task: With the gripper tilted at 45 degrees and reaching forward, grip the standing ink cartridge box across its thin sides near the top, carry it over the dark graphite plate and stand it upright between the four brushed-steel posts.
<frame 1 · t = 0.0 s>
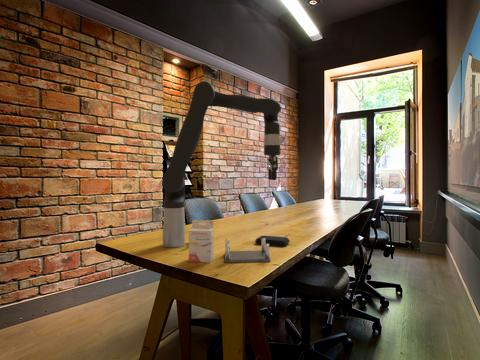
hand: (272, 180, 130), 29 cm above the table, tool pointing down, fingers open, 8 cm apart
carrying case or bag: (272, 244, 130), on the table
ink cartridge box: (201, 260, 104), on the table
standoff plate: (246, 257, 107), on the table
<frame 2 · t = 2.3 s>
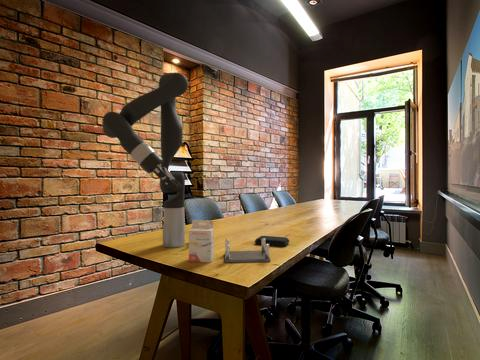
hand: (178, 189, 104), 27 cm above the table, tool tilted 45°, fingers open, 8 cm apart
nothing on the table moved.
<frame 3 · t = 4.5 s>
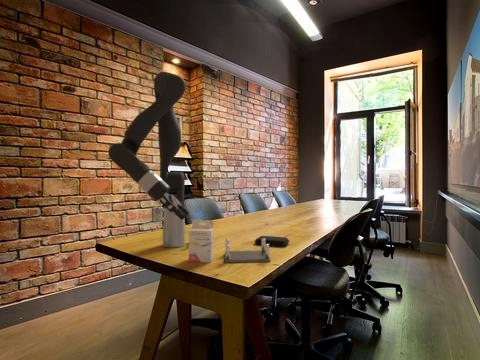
hand: (185, 216, 104), 16 cm above the table, tool tilted 45°, fingers open, 8 cm apart
nothing on the table moved.
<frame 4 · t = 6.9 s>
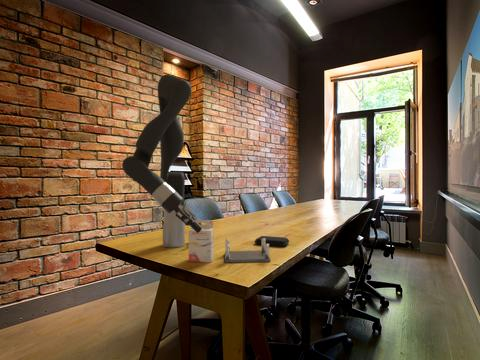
hand: (200, 229, 104), 12 cm above the table, tool tilted 45°, fingers closed on ink cartridge box, 5 cm apart
ink cartridge box: (201, 260, 104), on the table, touching gripper
everything else where it was.
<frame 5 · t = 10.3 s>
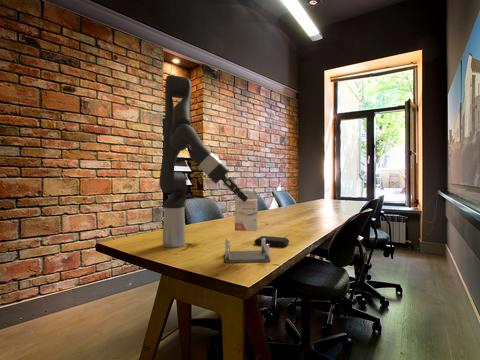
hand: (245, 199, 107), 22 cm above the table, tool tilted 45°, fingers closed on ink cartridge box, 5 cm apart
ink cartridge box: (246, 230, 107), point 10 cm above the table, touching gripper
when the fingers open (14 cm above the table, at t = 12.9 s): ink cartridge box drops 1 cm, resting on standoff plate.
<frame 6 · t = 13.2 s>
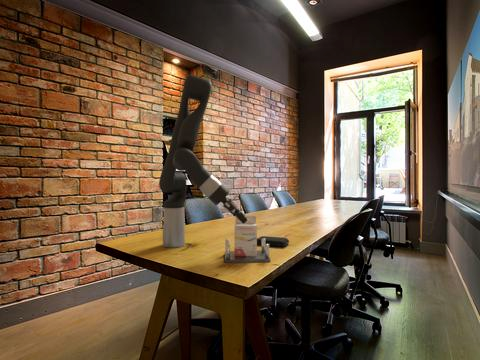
hand: (244, 220, 107), 14 cm above the table, tool tilted 45°, fingers open, 7 cm apart
ink cartridge box: (245, 255, 108), point 1 cm above the table, touching standoff plate
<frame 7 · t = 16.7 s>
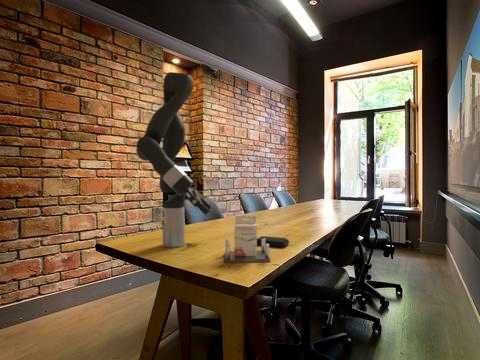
hand: (208, 210, 106), 18 cm above the table, tool tilted 45°, fingers open, 8 cm apart
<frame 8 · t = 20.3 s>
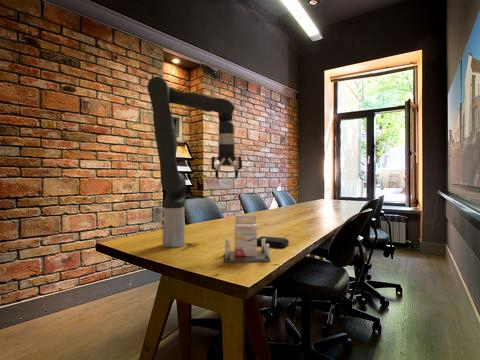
hand: (226, 178, 132), 30 cm above the table, tool pointing down, fingers open, 8 cm apart
at the end: ink cartridge box 0.4 cm off-centre on the standoff plate, point 0.8 cm above the standoff plate's base; ink cartridge box tilted 0°; the gripper is holding nothing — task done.
